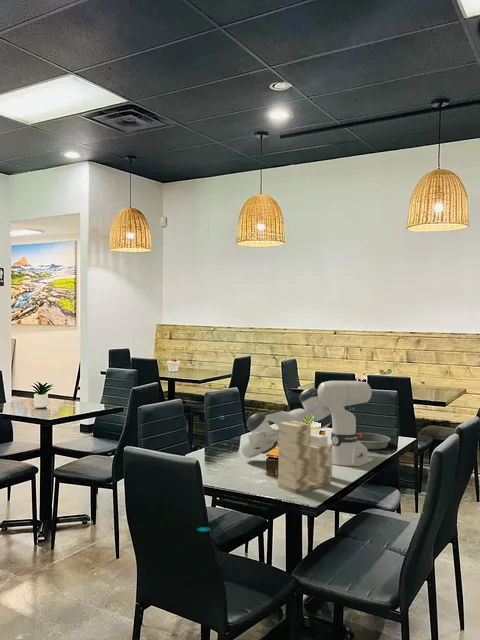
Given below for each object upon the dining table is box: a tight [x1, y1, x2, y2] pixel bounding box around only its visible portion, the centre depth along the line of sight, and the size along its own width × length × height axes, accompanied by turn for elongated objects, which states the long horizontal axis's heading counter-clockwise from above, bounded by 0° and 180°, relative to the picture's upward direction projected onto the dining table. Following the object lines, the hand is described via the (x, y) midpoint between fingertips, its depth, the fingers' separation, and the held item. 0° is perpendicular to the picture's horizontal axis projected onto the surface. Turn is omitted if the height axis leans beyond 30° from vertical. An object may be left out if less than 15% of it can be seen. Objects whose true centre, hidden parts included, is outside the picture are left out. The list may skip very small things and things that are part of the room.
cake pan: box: [356, 432, 392, 450], centre depth 310 cm, size 25×25×4 cm
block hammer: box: [310, 433, 329, 447], centre depth 239 cm, size 5×20×4 cm, turn 37°
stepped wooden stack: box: [277, 421, 332, 494], centre depth 231 cm, size 20×10×26 cm, turn 127°
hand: (281, 429), depth 252 cm, fingers open, 8 cm apart
